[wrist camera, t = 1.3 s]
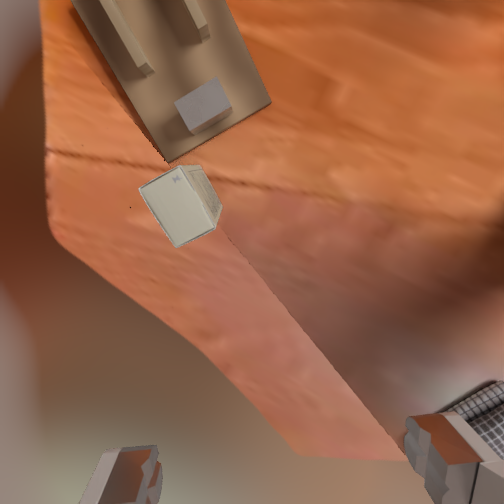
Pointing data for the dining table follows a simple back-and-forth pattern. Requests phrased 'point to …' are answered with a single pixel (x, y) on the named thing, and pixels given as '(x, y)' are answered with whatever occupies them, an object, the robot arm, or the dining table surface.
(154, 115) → the base
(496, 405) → the towel
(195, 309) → the dining table surface
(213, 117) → the block
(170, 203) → the skincare box
